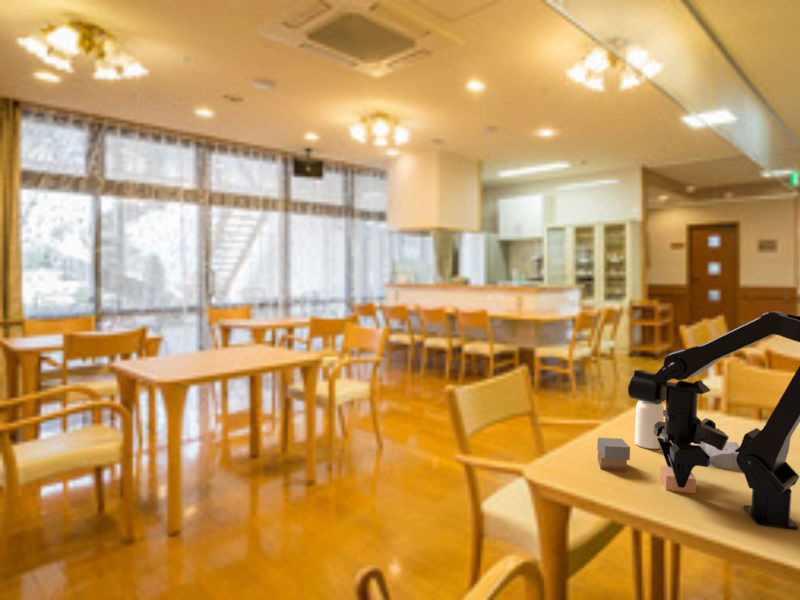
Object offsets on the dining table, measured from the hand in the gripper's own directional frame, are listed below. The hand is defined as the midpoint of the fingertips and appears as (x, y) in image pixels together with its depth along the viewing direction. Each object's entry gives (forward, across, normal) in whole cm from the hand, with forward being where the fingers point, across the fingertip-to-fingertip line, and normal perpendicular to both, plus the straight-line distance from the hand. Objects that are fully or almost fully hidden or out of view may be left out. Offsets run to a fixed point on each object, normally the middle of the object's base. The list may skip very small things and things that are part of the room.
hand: (677, 481), depth 103 cm
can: (+1, +24, +1) cm, 24 cm away
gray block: (-2, +7, +12) cm, 14 cm away
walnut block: (+1, +7, +12) cm, 14 cm away
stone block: (+2, +19, -14) cm, 24 cm away
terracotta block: (+1, 0, 0) cm, 1 cm away
